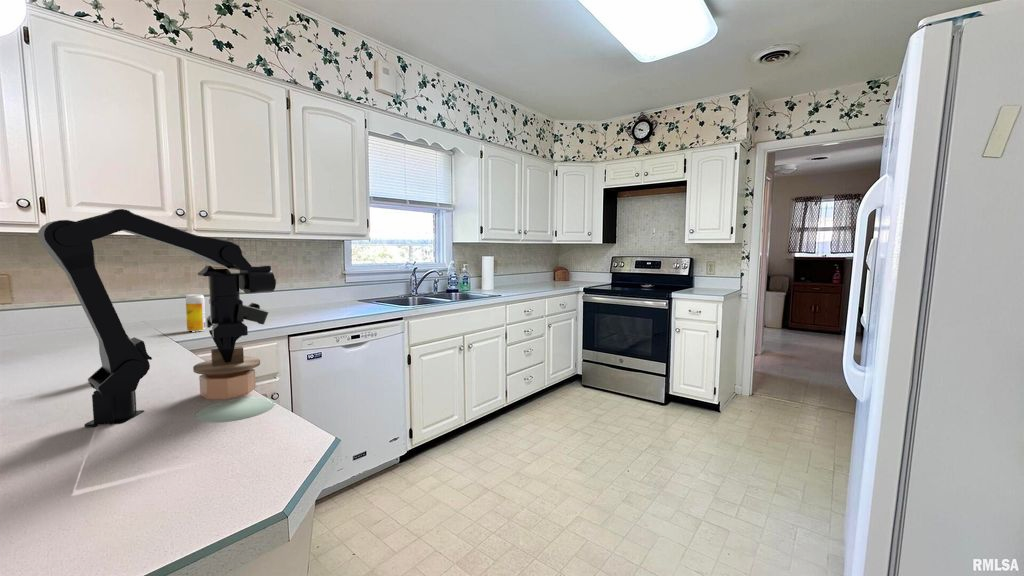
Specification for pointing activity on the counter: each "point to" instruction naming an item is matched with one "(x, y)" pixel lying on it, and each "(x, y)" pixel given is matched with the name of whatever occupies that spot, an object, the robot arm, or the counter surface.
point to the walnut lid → (221, 367)
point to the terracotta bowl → (227, 384)
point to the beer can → (195, 312)
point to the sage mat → (235, 409)
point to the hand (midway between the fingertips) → (227, 361)
